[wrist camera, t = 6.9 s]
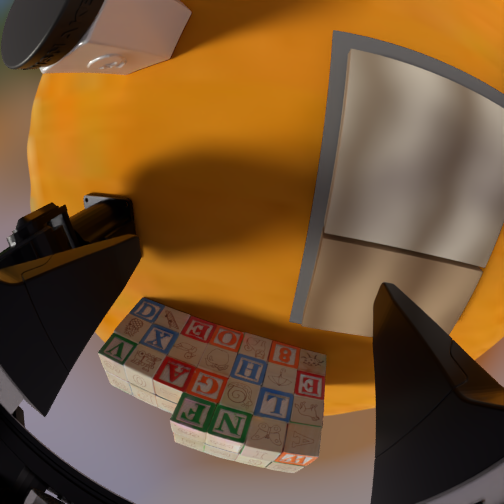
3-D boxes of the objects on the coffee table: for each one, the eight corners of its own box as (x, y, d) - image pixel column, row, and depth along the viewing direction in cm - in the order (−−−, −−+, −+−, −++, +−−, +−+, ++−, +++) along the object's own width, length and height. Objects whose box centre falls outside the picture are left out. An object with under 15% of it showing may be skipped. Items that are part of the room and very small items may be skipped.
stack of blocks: (146, 331, 32) (95, 403, 21) (142, 295, 29) (79, 372, 18) (309, 384, 30) (294, 475, 19) (328, 353, 27) (319, 460, 16)
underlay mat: (290, 314, 25) (289, 321, 24) (332, 34, 13) (333, 30, 13) (435, 335, 23) (437, 342, 22) (510, 103, 11) (517, 103, 10)
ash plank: (324, 220, 19) (324, 232, 18) (347, 54, 13) (351, 48, 11) (475, 254, 17) (484, 267, 15) (512, 120, 11) (526, 123, 9)
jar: (108, 85, 18) (-5, 95, 8) (106, 15, 15) (5, 0, 4) (196, 54, 16) (80, 18, 6) (190, -21, 12) (98, -80, 2)
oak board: (303, 310, 23) (301, 325, 22) (322, 226, 19) (323, 238, 18) (437, 330, 21) (442, 344, 19) (473, 259, 17) (482, 272, 15)
